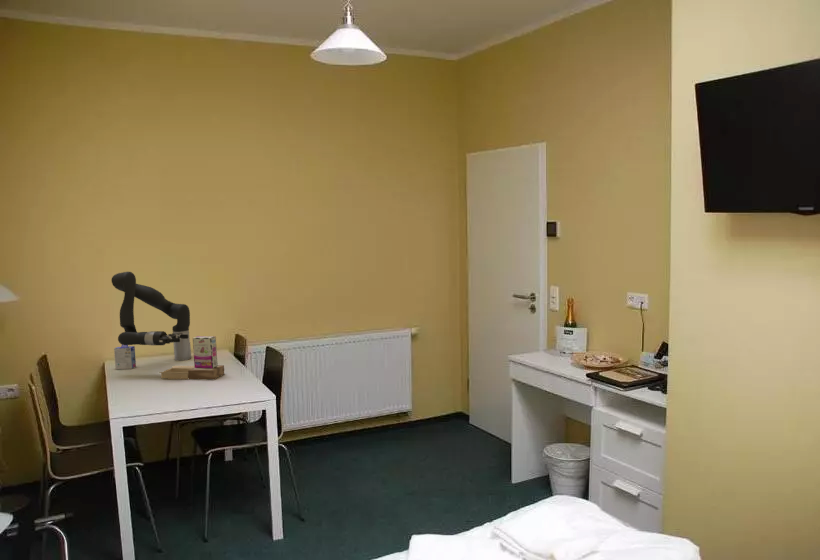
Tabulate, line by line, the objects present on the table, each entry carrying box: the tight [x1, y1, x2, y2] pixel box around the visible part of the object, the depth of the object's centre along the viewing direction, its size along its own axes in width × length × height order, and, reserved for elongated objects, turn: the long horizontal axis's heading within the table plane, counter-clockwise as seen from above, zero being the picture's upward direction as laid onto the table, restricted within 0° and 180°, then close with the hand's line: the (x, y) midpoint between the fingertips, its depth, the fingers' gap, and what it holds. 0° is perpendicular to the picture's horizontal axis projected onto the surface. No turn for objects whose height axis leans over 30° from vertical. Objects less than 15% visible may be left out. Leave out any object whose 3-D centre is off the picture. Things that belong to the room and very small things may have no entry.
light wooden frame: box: [159, 365, 195, 380], centre depth 345 cm, size 14×16×4 cm
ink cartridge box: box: [113, 344, 137, 370], centre depth 368 cm, size 10×6×14 cm, turn 89°
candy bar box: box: [192, 335, 218, 369], centre depth 342 cm, size 11×5×16 cm, turn 75°
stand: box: [188, 364, 225, 380], centre depth 343 cm, size 12×14×5 cm
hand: (183, 338), depth 343 cm, fingers open, 8 cm apart
